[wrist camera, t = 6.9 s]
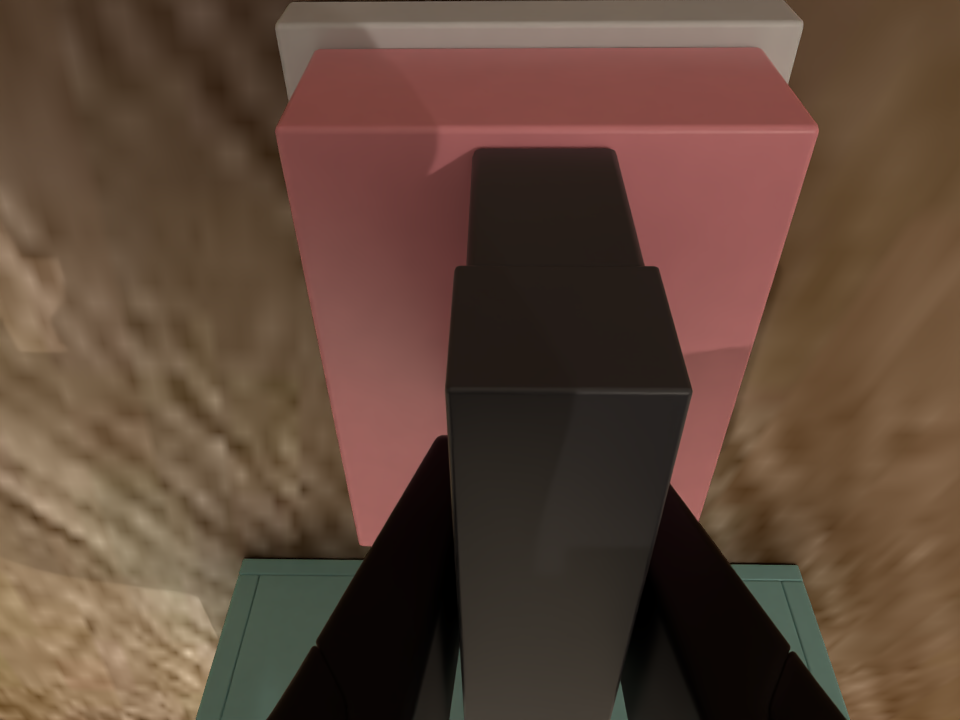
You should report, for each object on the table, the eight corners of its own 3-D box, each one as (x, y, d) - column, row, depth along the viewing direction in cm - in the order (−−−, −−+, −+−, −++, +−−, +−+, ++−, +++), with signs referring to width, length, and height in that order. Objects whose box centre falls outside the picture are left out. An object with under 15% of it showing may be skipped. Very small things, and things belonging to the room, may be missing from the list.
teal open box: (287, 671, 25) (250, 841, 21) (242, 558, 21) (186, 748, 17) (743, 678, 25) (786, 852, 21) (798, 564, 20) (865, 760, 17)
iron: (287, -1, 11) (61, 335, 5) (784, -3, 10) (1104, 340, 5) (377, 524, 19) (328, 867, 13) (655, 527, 19) (720, 874, 13)
